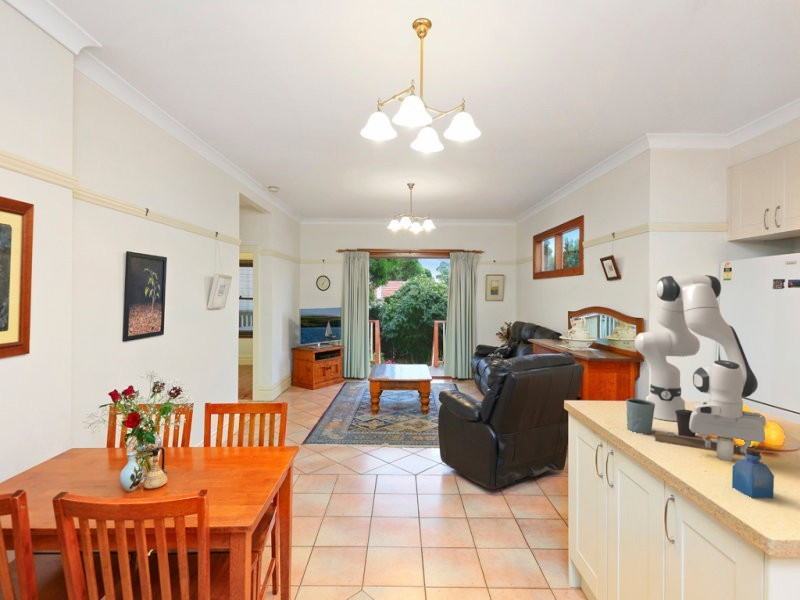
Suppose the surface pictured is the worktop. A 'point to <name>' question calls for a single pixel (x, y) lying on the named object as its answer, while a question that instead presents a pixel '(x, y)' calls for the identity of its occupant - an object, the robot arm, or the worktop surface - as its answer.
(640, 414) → the grey-green plant pot
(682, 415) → the coffee cup
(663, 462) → the worktop surface
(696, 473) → the worktop surface
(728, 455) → the round canister
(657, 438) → the walnut fence
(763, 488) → the perfume bottle
